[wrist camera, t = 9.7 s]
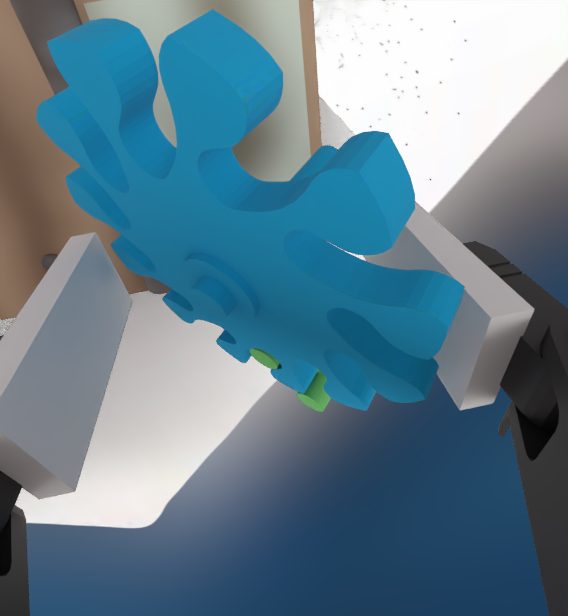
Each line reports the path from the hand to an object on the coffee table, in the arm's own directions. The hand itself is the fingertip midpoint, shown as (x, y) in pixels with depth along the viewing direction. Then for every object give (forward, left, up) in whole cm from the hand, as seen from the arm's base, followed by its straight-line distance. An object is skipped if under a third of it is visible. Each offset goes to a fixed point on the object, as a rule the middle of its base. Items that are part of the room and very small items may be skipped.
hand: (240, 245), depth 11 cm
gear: (-2, 0, -2) cm, 3 cm away
